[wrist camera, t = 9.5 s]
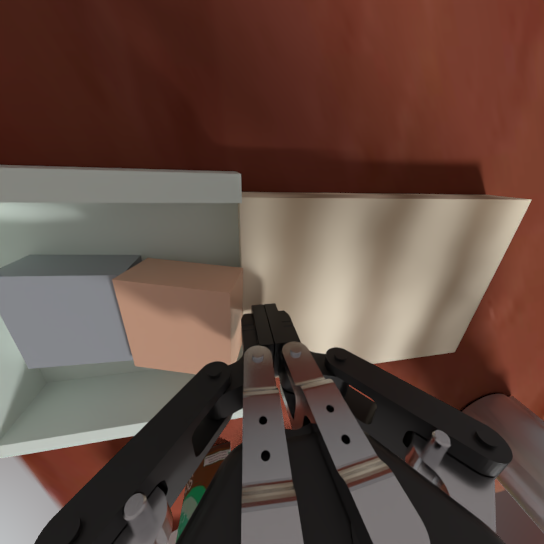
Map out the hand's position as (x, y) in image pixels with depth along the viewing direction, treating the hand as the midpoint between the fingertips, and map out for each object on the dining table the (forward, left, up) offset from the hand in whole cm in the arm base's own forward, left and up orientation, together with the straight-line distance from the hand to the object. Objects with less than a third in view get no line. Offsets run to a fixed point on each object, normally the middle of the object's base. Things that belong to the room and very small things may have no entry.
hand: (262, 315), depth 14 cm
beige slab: (-9, 0, -4) cm, 10 cm away
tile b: (+11, 0, -3) cm, 11 cm away
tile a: (+4, 0, -2) cm, 4 cm away
